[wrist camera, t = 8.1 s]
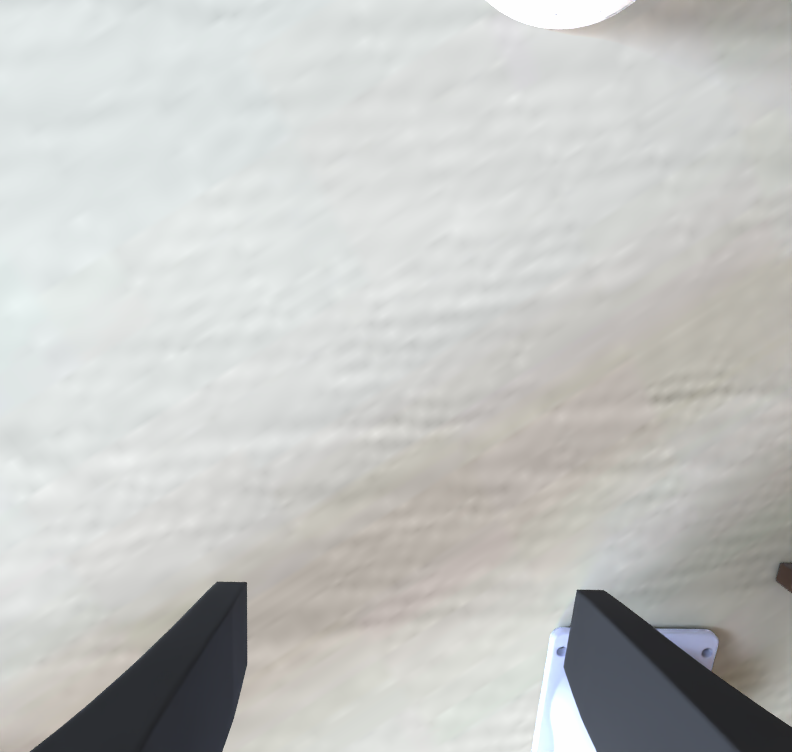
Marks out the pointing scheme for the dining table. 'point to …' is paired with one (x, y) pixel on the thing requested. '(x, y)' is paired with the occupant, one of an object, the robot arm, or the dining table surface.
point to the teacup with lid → (560, 11)
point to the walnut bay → (785, 576)
